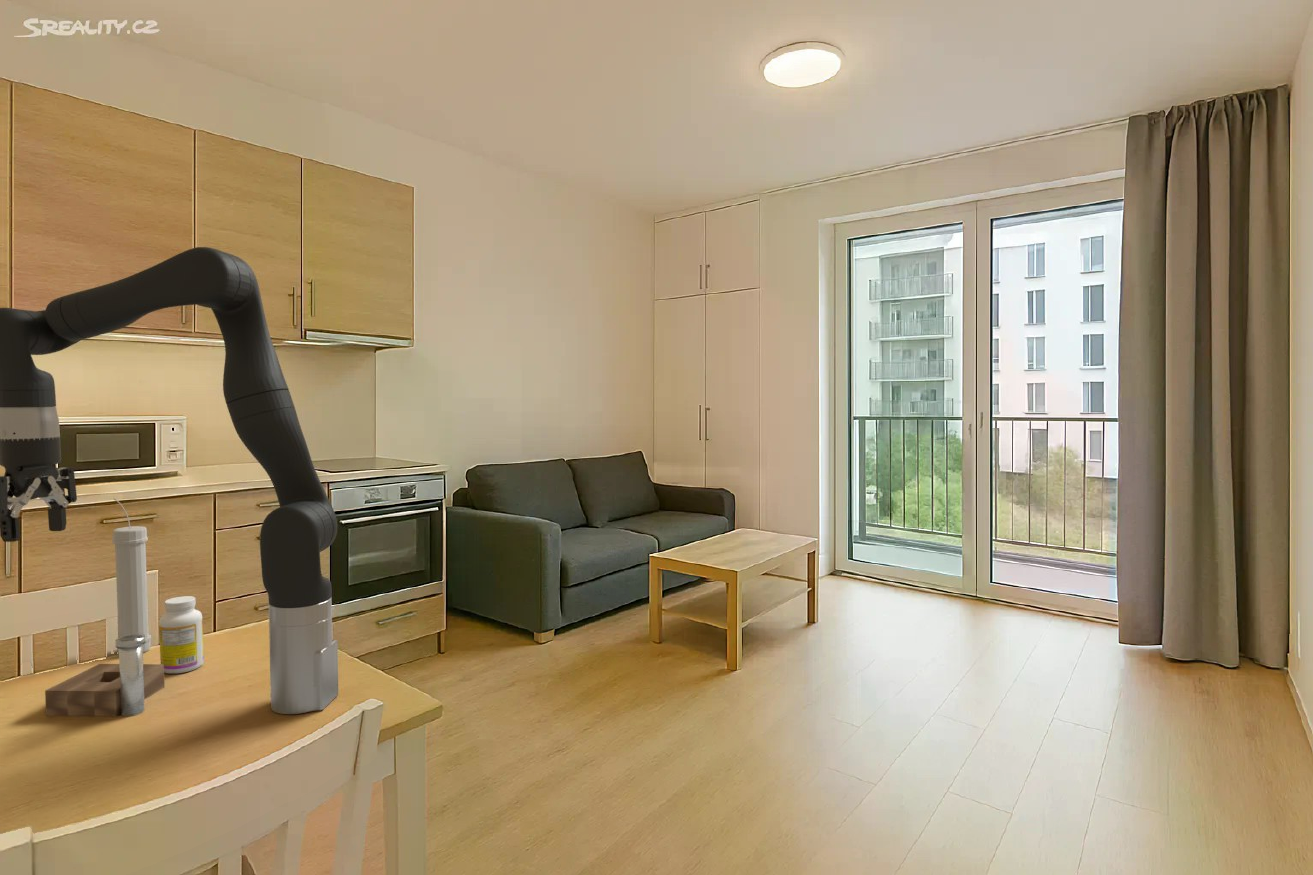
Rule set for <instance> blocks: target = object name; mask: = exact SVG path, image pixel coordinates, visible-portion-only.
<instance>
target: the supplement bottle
mask: <svg viewBox="0 0 1313 875" xmlns="http://www.w3.org/2000/svg"><path fill="white" fill-rule="evenodd" d="M196 603H197V602H196V597H195V596H191V595H189V596H188V595H186V596H177V597H172V598H168V599H166V600H165V601H164V609H165V611H166V613H164V614H163V615H162V616H161V617H160V618H159V621H158V630H159V631H158V633H159V650H160V651H159V653H160V664H164V674H169V675H170V674H171V675H174V674H176V675H177V674H183V673H188V672H192V671H194V670H196V669H198V668H200V667H202V666H203V664H204V662H205V655H204V654H205V652H204V651H205V650H204V626H203V615H202V612H201V611H200V610H198V609H195V606H196V605H197V604H196Z"/></svg>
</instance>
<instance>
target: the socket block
mask: <svg viewBox="0 0 1313 875" xmlns="http://www.w3.org/2000/svg"><path fill="white" fill-rule="evenodd" d="M143 676H144V700H145V699H147V698H149V697H151V696H152V695H154V694H155V693H157V692H159V691H160V690H162V689H164V688H165V673H164V664H161V663H160V664H158V663H157V664H156V663H155V664H154V663H153V664H152V663H151V664H150V663H149V664H148V663H147V664H144V663H143ZM44 693H45V694H44V695H45V714H46V716H56V717H57V716H63V717H64V716H66V717H67V716H68V717H71V716H73V717H74V716H75V717H76V716H77V717H78V716H79V717H80V716H82V717H118V716H119V715H121V693H120V666H119V663H98V664H96V665H94V666H92V667H90V668H88V669H86V670H84V671H82V672H80V673H78V674H76V675H74V676H71V677H69V678H68V679H66V680H64V681H62V682H60V683H58V684H55V685H53V686H51V687H49V688H48V689H45V690H44Z"/></svg>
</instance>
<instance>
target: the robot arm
mask: <svg viewBox="0 0 1313 875" xmlns="http://www.w3.org/2000/svg"><path fill="white" fill-rule="evenodd" d="M194 305H195V306H200V307H204V308H208V309H211V311H212V313H213V315H214V317H215V319H216V322H217V325H218V328H219V331H220V333H221V335H222V340H223V343H224V351H225V356H224V357H225V358H224V367H223V376H222V377H223V378H222V392H223V398H224V401H225V405H226V407H227V411H228V413H229V416H230V419H231V421H232V424H233V427H234V430H235V432H236V434H237V436H238V437H239V439H240V440H241V443H243V445H244V446H245V448H246V449H247V450H248V452H250V454H251V455H252V456H253V457H254V459H255V460H256V461H257V462H258V463H259V465H260V466H261V467H262V469H264V471H265V472H266V473H267V475H268V476H269V479H270V481H271V483H272V486H273V489H274V491H275V495H276V498H277V500H278V505H279V507H277V508H275V509H273V510H272V511H270V512H269V513H268V514H267V515H266V517H265V518H264V520H263V521H262V524H261V528H260V533H259V536H260V537H259V550H260V553H259V554H260V564H261V566H260V567H261V577H262V583H263V587H264V590H265V591H266V594H267V595H268V621H269V622H268V628H269V629H268V630H269V632H268V633H269V637H268V638H269V676H270V678H269V680H270V681H269V682H270V683H269V684H270V706H271V710H272V711H273V712H275V713H277V714H284V715H297V714H305V713H308V712H313V711H322V710H324V709H325V708H326V707H327V706H329V705H330V703H331V702H332V701H333V700H334V699H335V698H336V697H337V696H339V650H338V649H339V648H338V645H339V644H338V640H337V639H333V615H332V614H333V609H332V608H333V606H332V603H333V602H332V599H333V596H332V595H333V592H332V582H331V580H330V579H329V578H328V577H326V576H323V574H322V569H321V566H322V565H321V552H323V551H325V550H326V549H328V548H329V547H330V546H331V545H332V544H333V543H334V542H335V539H336V538H337V534H338V526H339V525H338V519H337V516H336V513H335V511H334V507H333V505H332V503H331V502H330V499H329V497H328V496H327V492H326V490H325V489H324V486H323V484H322V482H321V480H320V478H319V475H318V473H317V471H316V469H315V466H314V463H313V460H312V457H311V454H310V452H309V451H310V450H309V448H308V445H307V441H306V437H305V435H304V433H303V430H302V427H301V424H300V421H299V420H300V419H299V417H298V414H297V410H296V407H295V405H294V404H295V403H294V401H293V398H292V395H291V392H290V389H289V386H288V384H287V382H286V378H285V376H284V373H283V370H282V367H281V364H280V361H279V358H278V355H277V352H276V349H275V347H274V344H273V341H272V338H271V335H270V331H269V328H268V323H267V320H266V315H265V310H264V306H263V300H262V295H261V292H260V287H259V283H258V280H257V276H256V274H255V272H254V271H253V269H252V267H251V266H250V265H249V264H248V262H246V261H245V260H243V259H242V258H240V257H239V256H236V255H235V254H232V253H228V252H226V251H222V250H219V249H216V248H213V247H208V246H198V247H192V248H190V249H187V250H184V251H183V252H179V253H178V254H175V255H173V256H172V257H169V258H167V259H165V260H163V261H162V262H159V263H158V264H155V265H153V266H151V267H150V266H149V267H147V268H146V269H144V270H142V271H138V272H137V273H135V274H131V275H129V276H126V277H124V278H121V279H119V280H116V281H112V282H109V283H107V284H103V285H98V286H96V287H93V288H88V289H84V290H79V291H77V292H73V293H70V294H67V295H63V296H60V297H57V298H55V299H53V300H51V301H50V302H49V303H48V304H47V305H46V307H45V309H43V310H27V309H19V308H12V307H0V466H1V467H2V468H4V470H5V472H4V475H0V538H1V540H2V542H5V543H9V542H10V543H13V542H18V541H20V540H21V528H20V517H18V516H19V514H20V512H21V511H22V508H23V507H24V506H27V505H28V503H29V502H30V501H32V500H37V499H40V500H43V501H44V502H45V504H46V506H48V509H47V515H48V516H47V517H48V530H49V531H50V532H62V531H65V530H66V525H67V508H68V506H69V504H72V503H75V502H77V500H78V498H77V496H78V494H77V486H76V477H75V470H74V468H73V467H57V466H56V465H58V464H60V463H61V462H62V449H61V446H62V445H61V434H60V432H61V431H60V419H59V415H58V410H57V399H56V398H57V396H56V395H57V394H56V384H55V383H56V382H55V379H54V377H53V375H52V374H51V373H50V372H48V371H45V370H42V369H39V368H38V367H37V366H36V365H35V361H34V360H33V357H32V356H43V355H49V354H54V353H57V352H61V351H63V350H66V349H67V348H69V347H72V346H74V345H75V344H77V343H79V342H80V341H82V340H86V339H91V338H94V337H97V336H101V335H105V334H108V333H112V332H115V331H119V330H121V329H123V328H126V327H128V326H130V325H132V324H134V323H135V322H137V321H138V320H140V319H141V318H142V317H144V316H145V317H146V316H147V315H149V314H150V313H153V312H155V311H160V310H163V309H169V308H173V307H174V308H175V307H181V306H182V307H183V306H194ZM65 489H66V490H67V494H66V491H65Z"/></svg>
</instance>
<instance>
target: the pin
mask: <svg viewBox="0 0 1313 875" xmlns="http://www.w3.org/2000/svg"><path fill="white" fill-rule="evenodd" d="M144 643H145V635H143V634H133V635H127V636H123V637H120V638H119V637H117V638H116V639H115V648H116V649H117V648H119V654H118V660H119V663H118V664H119V666H120V693H121V714H120V715H121V717H132V716H133V717H134V716H136V715H140V714H142V713H144V711H145V708H146V706H145V699H144V676H143V664H144V659H143V658H144V653H143V647H142V645H143V644H144Z"/></svg>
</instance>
